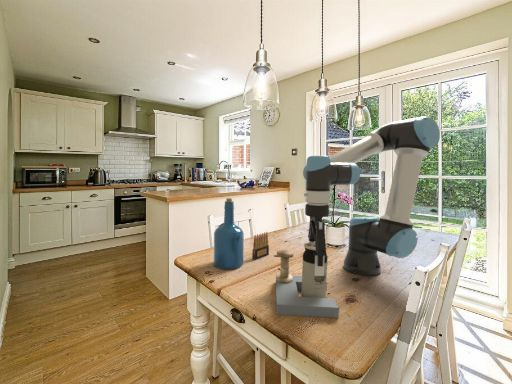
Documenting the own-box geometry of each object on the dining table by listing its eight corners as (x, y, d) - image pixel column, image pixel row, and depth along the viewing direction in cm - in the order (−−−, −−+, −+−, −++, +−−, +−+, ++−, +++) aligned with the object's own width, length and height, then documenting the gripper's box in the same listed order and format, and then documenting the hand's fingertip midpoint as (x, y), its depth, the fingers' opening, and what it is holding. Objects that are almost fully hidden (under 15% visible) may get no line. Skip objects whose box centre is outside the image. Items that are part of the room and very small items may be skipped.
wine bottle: (248, 267, 113) (249, 199, 110) (220, 272, 106) (221, 200, 104) (234, 257, 124) (235, 196, 122) (208, 262, 118) (209, 197, 115)
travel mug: (299, 292, 90) (300, 242, 89) (321, 292, 91) (323, 242, 89) (304, 304, 82) (306, 249, 81) (329, 304, 83) (331, 249, 81)
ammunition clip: (266, 254, 131) (266, 231, 130) (268, 255, 130) (269, 231, 129) (252, 259, 123) (252, 234, 122) (254, 260, 122) (255, 235, 121)
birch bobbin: (291, 276, 96) (292, 250, 96) (293, 283, 90) (294, 255, 90) (275, 275, 97) (276, 249, 96) (276, 282, 91) (276, 254, 90)
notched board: (323, 284, 97) (323, 276, 97) (338, 317, 75) (338, 307, 75) (275, 282, 98) (275, 274, 98) (276, 314, 76) (276, 304, 76)
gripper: (301, 199, 96) (300, 254, 98) (311, 209, 71) (309, 283, 73) (321, 199, 96) (320, 254, 98) (338, 209, 71) (336, 284, 73)
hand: (315, 267), depth 86 cm, fingers open, 13 cm apart
